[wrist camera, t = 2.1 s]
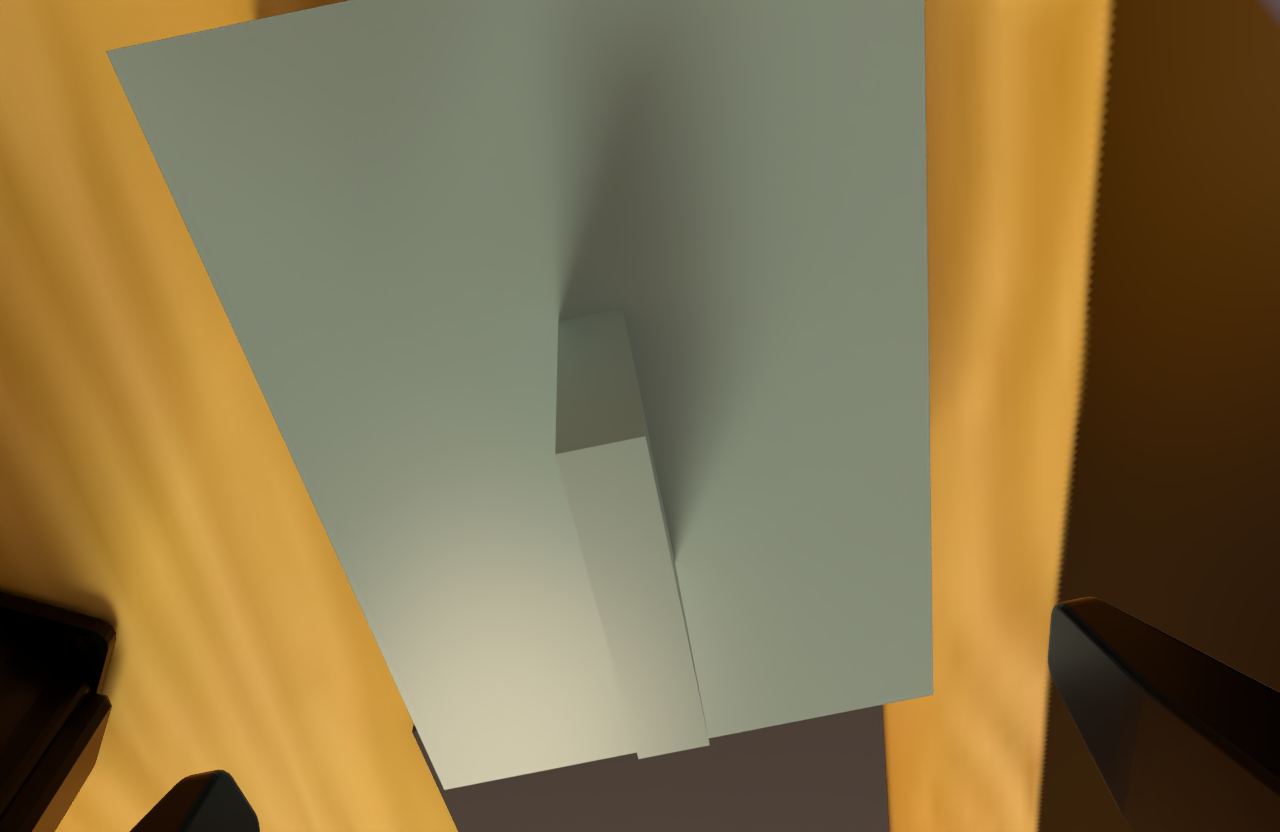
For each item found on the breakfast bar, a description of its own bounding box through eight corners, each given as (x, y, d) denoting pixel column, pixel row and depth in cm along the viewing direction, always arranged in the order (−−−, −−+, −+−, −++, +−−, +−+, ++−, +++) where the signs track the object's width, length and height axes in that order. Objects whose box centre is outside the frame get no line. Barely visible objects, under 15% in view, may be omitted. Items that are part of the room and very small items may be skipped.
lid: (904, 640, 18) (1030, 882, 13) (453, 728, 18) (412, 1000, 13) (878, -107, 11) (1117, -180, 6) (162, 43, 12) (-139, 84, 7)
